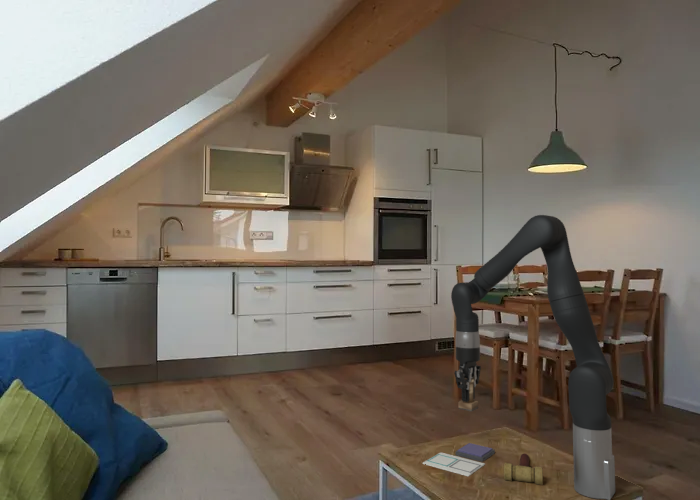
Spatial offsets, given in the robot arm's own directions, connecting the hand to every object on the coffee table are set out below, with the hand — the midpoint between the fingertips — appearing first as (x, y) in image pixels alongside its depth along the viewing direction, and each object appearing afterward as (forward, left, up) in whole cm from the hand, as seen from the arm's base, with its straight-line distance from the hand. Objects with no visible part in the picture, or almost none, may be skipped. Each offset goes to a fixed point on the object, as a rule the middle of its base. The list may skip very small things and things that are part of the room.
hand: (468, 399), depth 159 cm
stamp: (0, 0, -3) cm, 3 cm away
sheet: (0, +10, -17) cm, 20 cm away
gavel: (-18, +1, -18) cm, 25 cm away
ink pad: (-1, -2, -17) cm, 17 cm away
